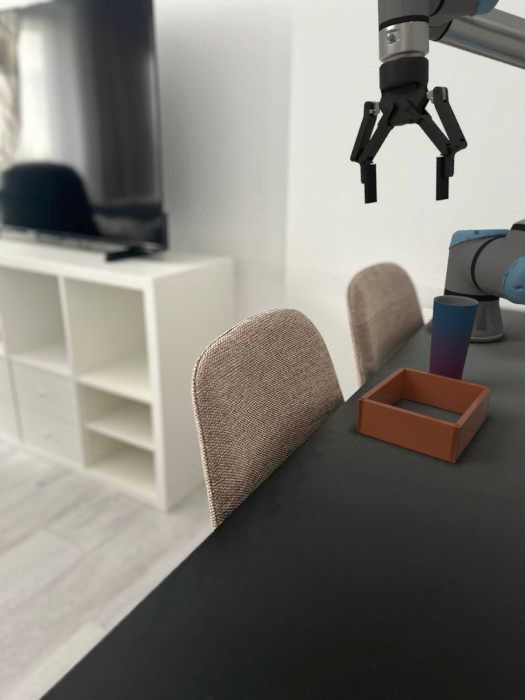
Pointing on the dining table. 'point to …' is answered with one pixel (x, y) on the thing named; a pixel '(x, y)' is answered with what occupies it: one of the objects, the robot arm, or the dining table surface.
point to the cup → (451, 334)
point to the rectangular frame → (420, 429)
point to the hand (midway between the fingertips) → (404, 201)
